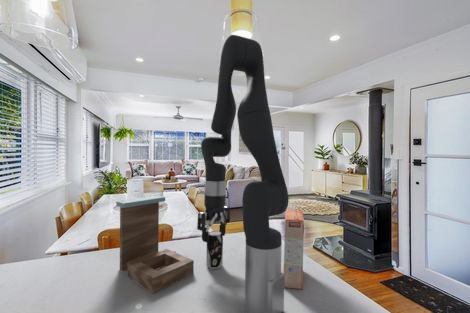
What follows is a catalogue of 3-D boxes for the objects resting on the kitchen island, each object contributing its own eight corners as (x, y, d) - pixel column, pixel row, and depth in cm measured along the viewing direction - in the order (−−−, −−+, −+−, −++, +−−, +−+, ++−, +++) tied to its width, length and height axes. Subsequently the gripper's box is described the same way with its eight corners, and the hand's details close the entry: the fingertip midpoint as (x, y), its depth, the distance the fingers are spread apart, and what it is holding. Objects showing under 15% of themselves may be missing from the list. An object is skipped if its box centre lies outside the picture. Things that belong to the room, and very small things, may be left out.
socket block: (193, 273, 80) (193, 260, 80) (153, 293, 69) (153, 278, 69) (166, 260, 90) (166, 248, 90) (127, 276, 78) (127, 262, 78)
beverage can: (207, 270, 83) (207, 235, 83) (205, 263, 88) (206, 230, 88) (223, 269, 84) (224, 235, 84) (221, 262, 90) (221, 229, 89)
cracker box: (303, 290, 71) (304, 220, 71) (282, 288, 73) (283, 218, 73) (301, 269, 85) (302, 209, 85) (284, 266, 86) (285, 208, 86)
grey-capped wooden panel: (164, 258, 92) (165, 197, 91) (122, 274, 79) (123, 203, 79) (157, 255, 95) (157, 195, 95) (115, 270, 82) (116, 201, 82)
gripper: (208, 197, 78) (207, 247, 78) (235, 192, 89) (234, 235, 89) (192, 194, 83) (191, 241, 83) (220, 189, 94) (219, 231, 94)
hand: (214, 238), depth 86 cm, fingers open, 8 cm apart
